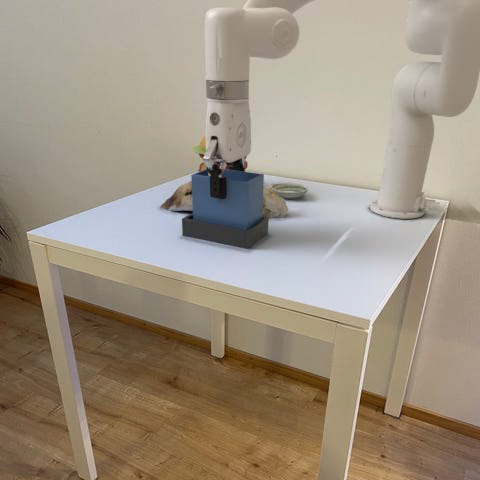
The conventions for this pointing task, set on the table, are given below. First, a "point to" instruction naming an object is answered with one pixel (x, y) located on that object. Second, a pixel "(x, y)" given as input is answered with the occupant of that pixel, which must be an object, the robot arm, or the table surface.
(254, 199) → the blue bin
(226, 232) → the charcoal bin
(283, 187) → the saucer
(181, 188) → the rock
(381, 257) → the table surface
